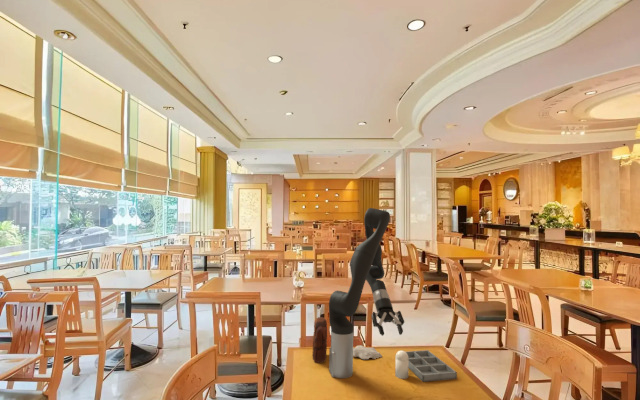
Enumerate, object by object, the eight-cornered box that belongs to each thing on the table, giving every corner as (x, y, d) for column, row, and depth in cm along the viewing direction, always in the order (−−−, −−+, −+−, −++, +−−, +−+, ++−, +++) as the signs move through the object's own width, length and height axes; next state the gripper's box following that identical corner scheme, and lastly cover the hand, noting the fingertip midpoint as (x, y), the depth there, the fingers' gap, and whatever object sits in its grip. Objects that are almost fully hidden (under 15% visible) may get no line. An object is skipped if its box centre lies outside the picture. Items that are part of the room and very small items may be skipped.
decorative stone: (350, 361, 151) (383, 364, 152) (351, 353, 151) (384, 356, 151) (348, 348, 162) (379, 351, 162) (349, 340, 162) (380, 344, 162)
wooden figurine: (312, 352, 159) (312, 314, 159) (325, 352, 159) (326, 314, 160) (312, 363, 147) (313, 322, 148) (327, 363, 147) (328, 322, 148)
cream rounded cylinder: (398, 379, 134) (398, 353, 135) (393, 373, 139) (393, 348, 140) (410, 378, 135) (410, 353, 136) (404, 372, 140) (405, 348, 141)
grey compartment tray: (422, 381, 132) (422, 375, 133) (398, 357, 154) (398, 352, 155) (456, 378, 135) (456, 372, 136) (428, 355, 157) (428, 350, 158)
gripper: (370, 297, 155) (379, 331, 144) (398, 296, 158) (409, 329, 146) (366, 306, 160) (374, 339, 149) (393, 305, 163) (404, 337, 151)
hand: (392, 334), depth 148 cm, fingers open, 8 cm apart
